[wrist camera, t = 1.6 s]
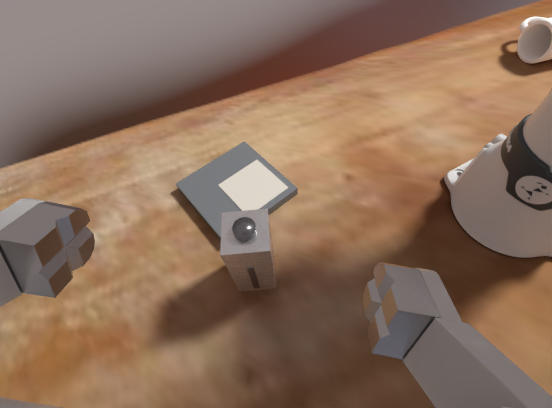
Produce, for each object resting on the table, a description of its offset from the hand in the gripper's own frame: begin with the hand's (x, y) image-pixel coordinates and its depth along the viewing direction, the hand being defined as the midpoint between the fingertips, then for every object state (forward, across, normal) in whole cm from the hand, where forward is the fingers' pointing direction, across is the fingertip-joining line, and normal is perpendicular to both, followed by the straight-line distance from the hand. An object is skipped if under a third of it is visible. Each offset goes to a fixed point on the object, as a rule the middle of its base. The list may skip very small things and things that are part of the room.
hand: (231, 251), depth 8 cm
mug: (+72, -52, -6) cm, 89 cm away
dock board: (+35, +5, +20) cm, 40 cm away
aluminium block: (+22, 0, +25) cm, 33 cm away
